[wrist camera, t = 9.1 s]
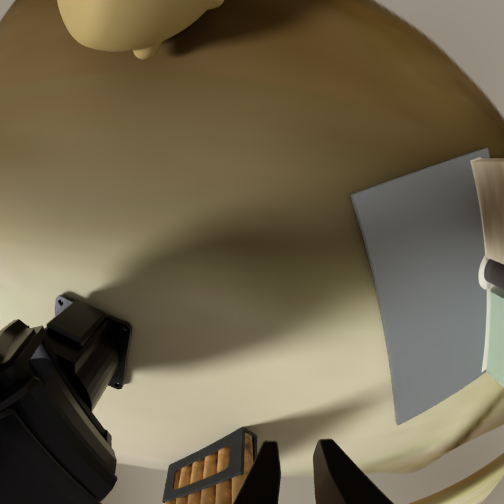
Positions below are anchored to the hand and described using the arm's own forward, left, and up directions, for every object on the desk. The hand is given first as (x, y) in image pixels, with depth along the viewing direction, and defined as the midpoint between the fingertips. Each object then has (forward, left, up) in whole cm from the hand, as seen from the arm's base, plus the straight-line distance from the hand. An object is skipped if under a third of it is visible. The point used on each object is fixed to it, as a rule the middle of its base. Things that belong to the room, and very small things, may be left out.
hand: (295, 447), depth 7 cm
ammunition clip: (-17, -1, -12) cm, 21 cm away
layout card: (+4, -15, -12) cm, 20 cm away
